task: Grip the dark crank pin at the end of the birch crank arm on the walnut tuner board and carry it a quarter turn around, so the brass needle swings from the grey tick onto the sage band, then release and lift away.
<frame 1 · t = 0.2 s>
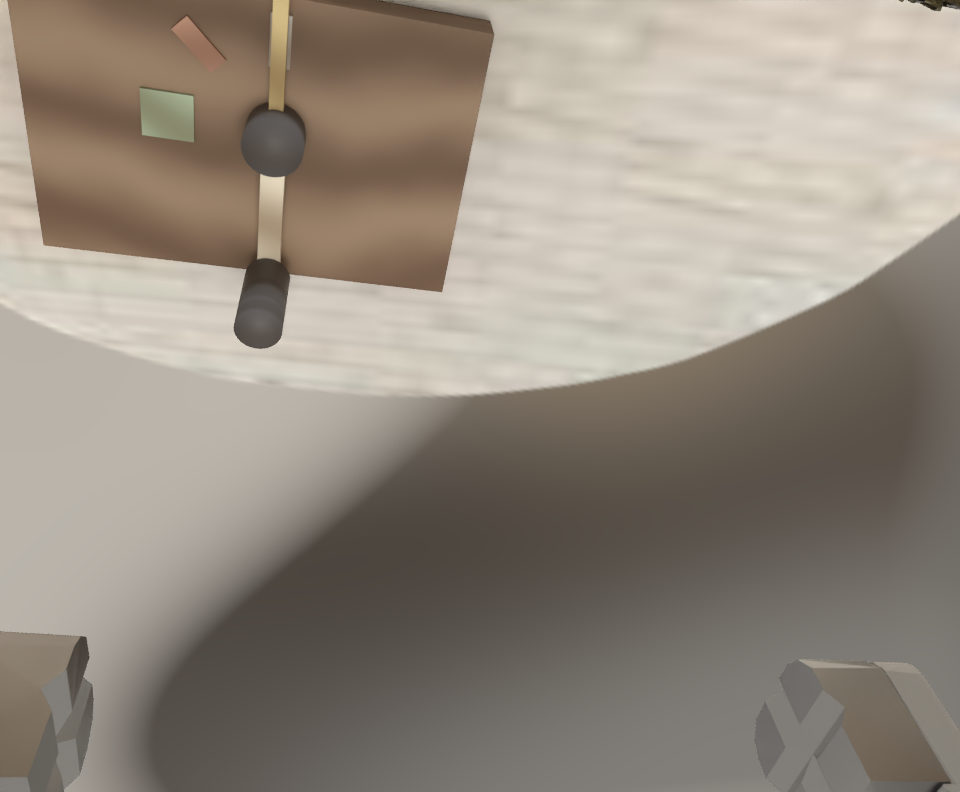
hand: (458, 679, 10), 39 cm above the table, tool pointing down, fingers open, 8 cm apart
tuning crank: (269, 179, 41), point 5 cm above the table, hinge at 0.0°
tuner board: (259, 129, 45), on the table
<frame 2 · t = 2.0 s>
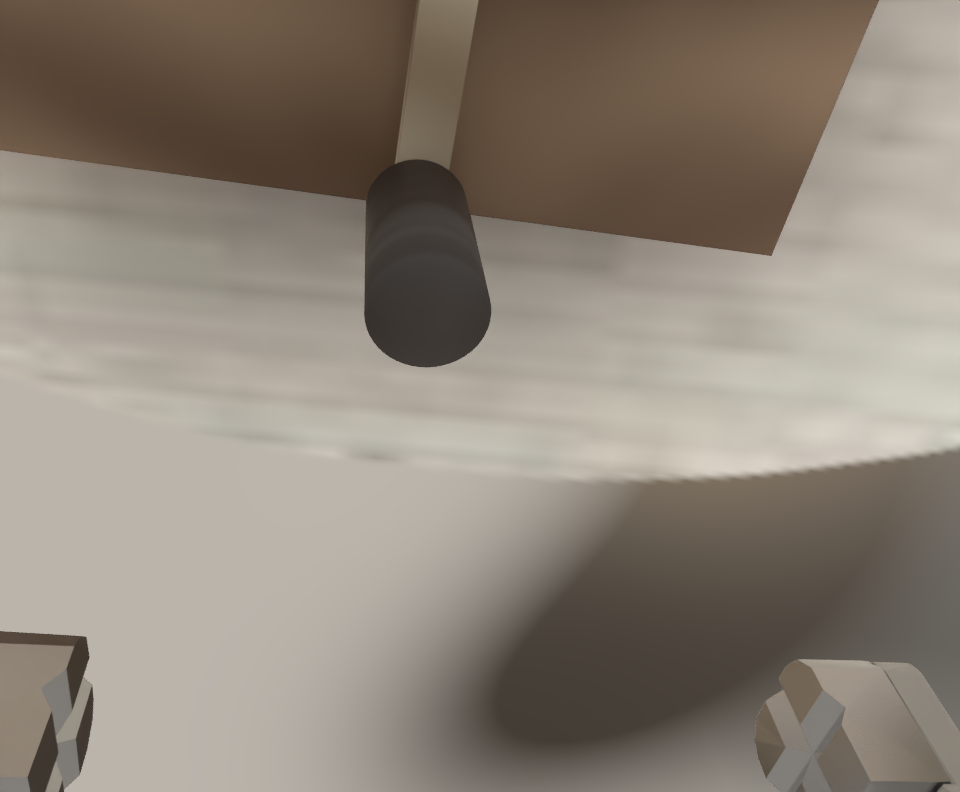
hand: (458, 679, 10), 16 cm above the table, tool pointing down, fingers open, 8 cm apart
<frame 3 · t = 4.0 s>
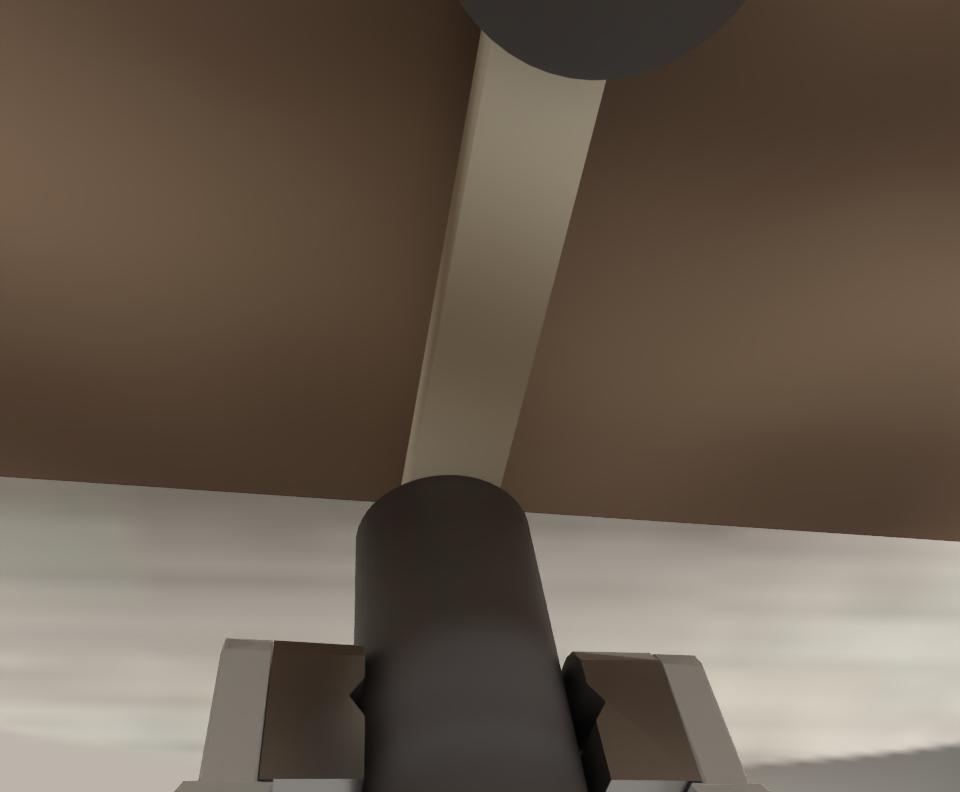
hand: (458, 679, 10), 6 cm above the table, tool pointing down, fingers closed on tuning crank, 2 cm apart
tuning crank: (609, 59, 6), point 5 cm above the table, hinge at 0.0°, touching gripper
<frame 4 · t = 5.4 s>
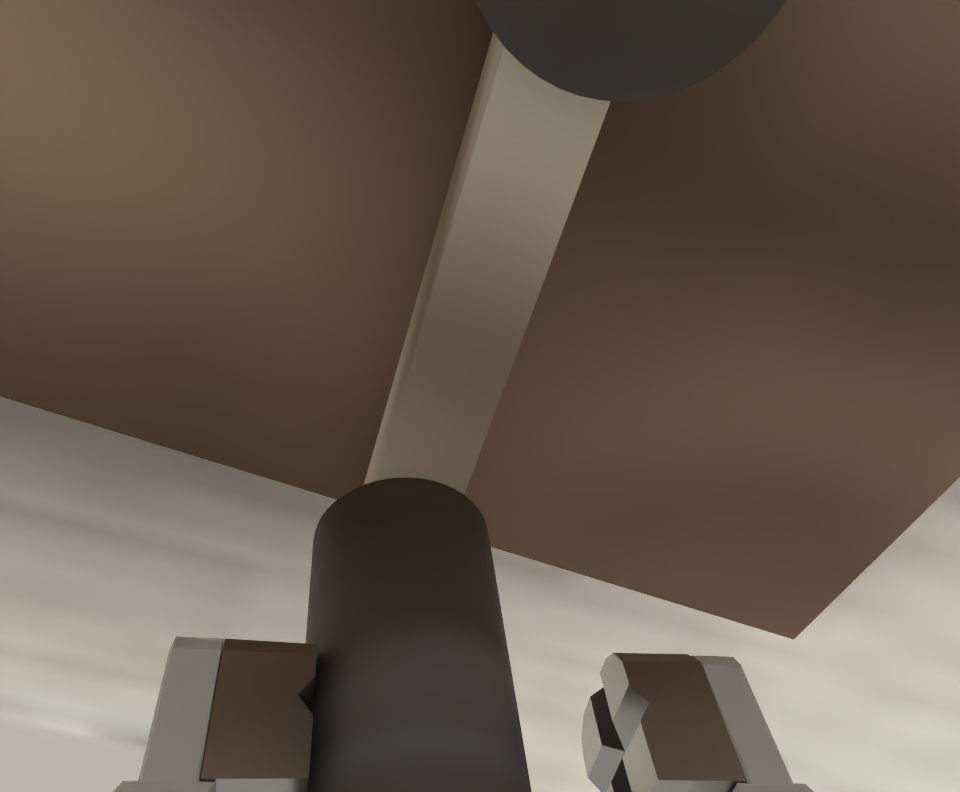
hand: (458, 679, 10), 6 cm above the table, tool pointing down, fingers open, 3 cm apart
tuning crank: (625, 81, 6), point 5 cm above the table, hinge at 11.1°, touching gripper
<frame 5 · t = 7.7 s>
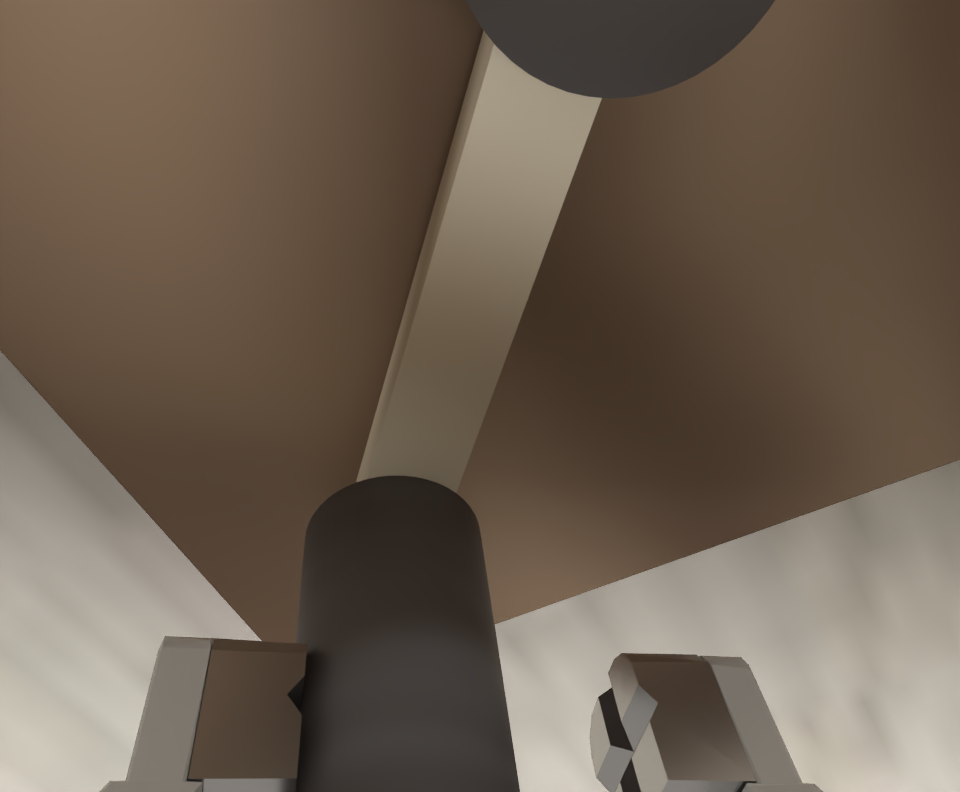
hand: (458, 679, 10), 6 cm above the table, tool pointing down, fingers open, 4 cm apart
tuning crank: (613, 78, 6), point 5 cm above the table, hinge at 51.2°, touching gripper
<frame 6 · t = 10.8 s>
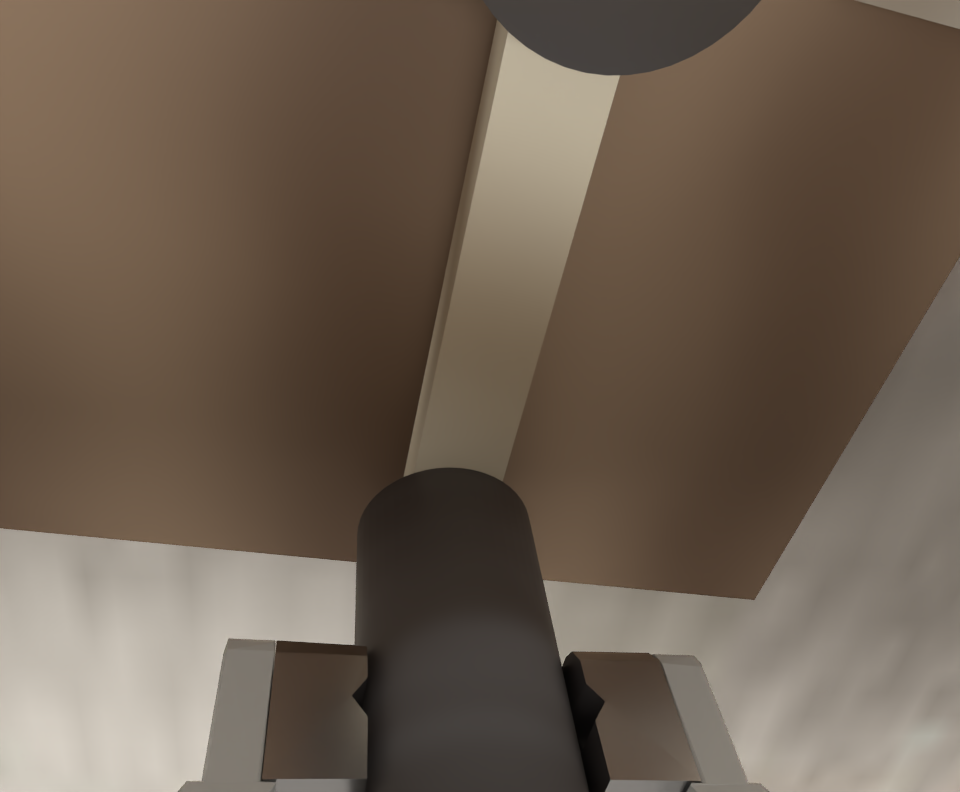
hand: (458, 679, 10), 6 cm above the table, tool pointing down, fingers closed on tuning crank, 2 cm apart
tuning crank: (627, 54, 6), point 5 cm above the table, hinge at 91.7°, touching gripper
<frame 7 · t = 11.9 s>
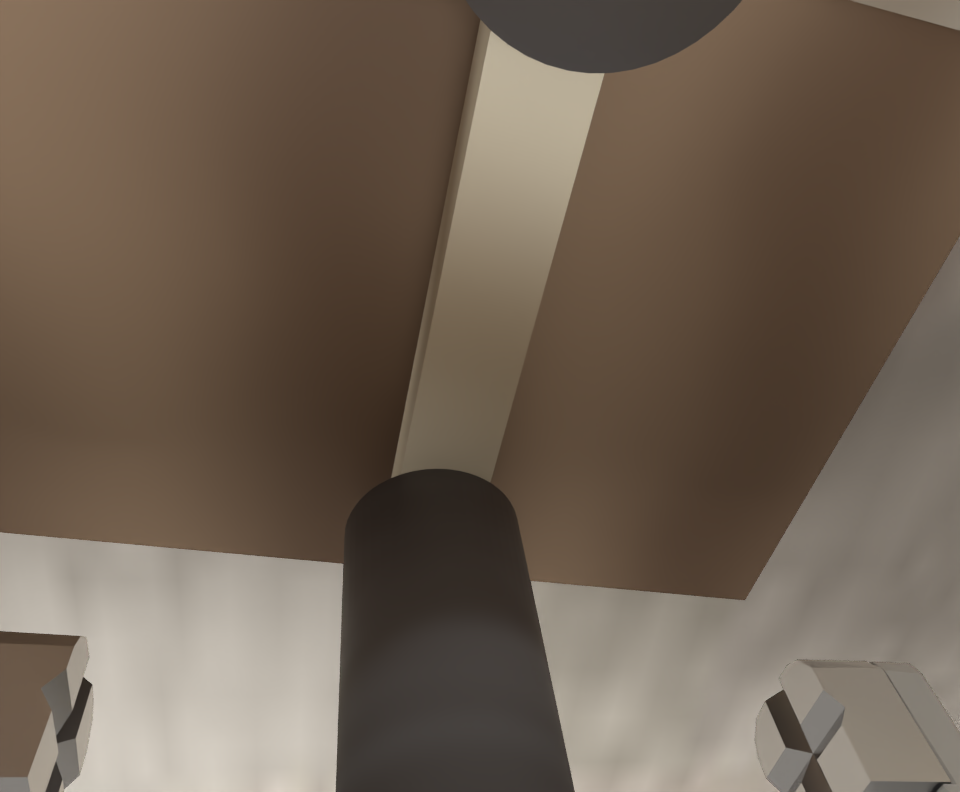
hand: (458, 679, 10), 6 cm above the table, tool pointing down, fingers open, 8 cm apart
tuning crank: (608, 51, 6), point 5 cm above the table, hinge at 91.8°
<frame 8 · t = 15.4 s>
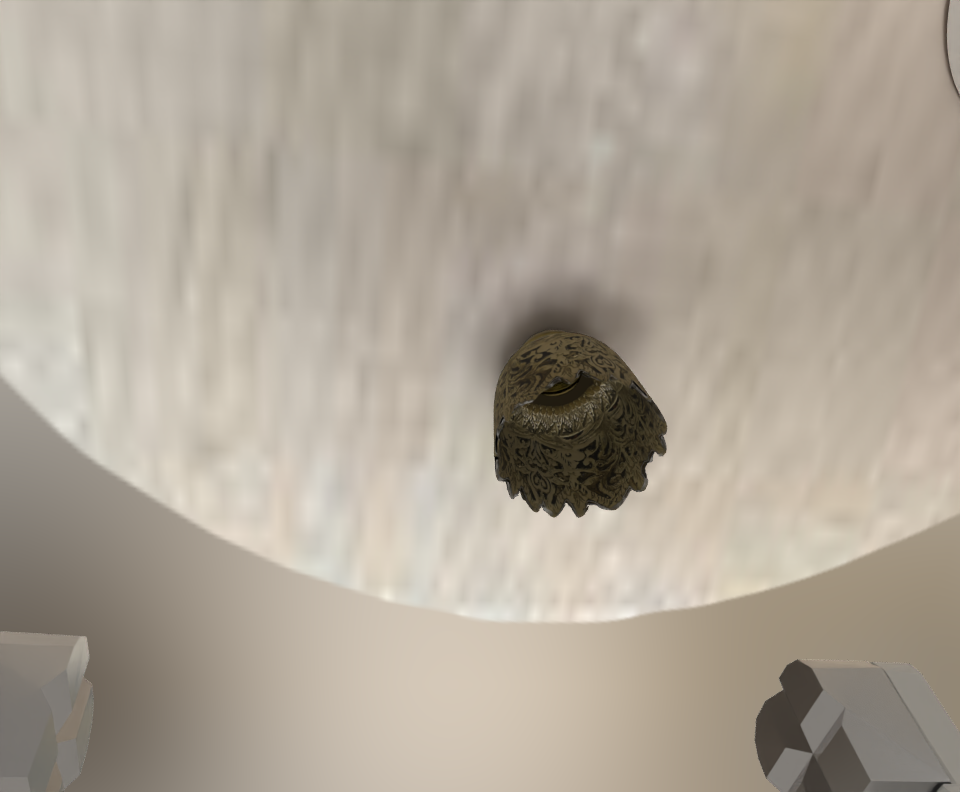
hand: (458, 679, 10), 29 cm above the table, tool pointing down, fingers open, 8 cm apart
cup: (548, 353, 42), on the table
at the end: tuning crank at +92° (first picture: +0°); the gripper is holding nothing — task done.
